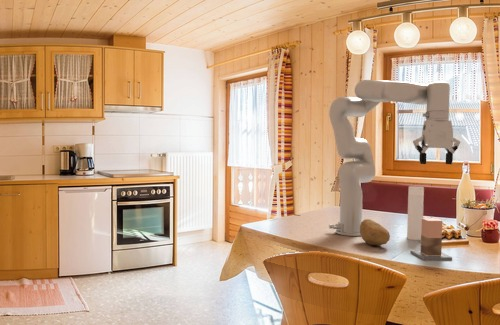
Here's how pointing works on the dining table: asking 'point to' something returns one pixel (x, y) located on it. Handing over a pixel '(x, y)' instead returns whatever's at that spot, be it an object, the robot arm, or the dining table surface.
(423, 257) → the slate board
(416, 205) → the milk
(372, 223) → the potato
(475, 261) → the dining table surface
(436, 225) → the terracotta block
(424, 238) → the walnut block
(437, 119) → the robot arm
